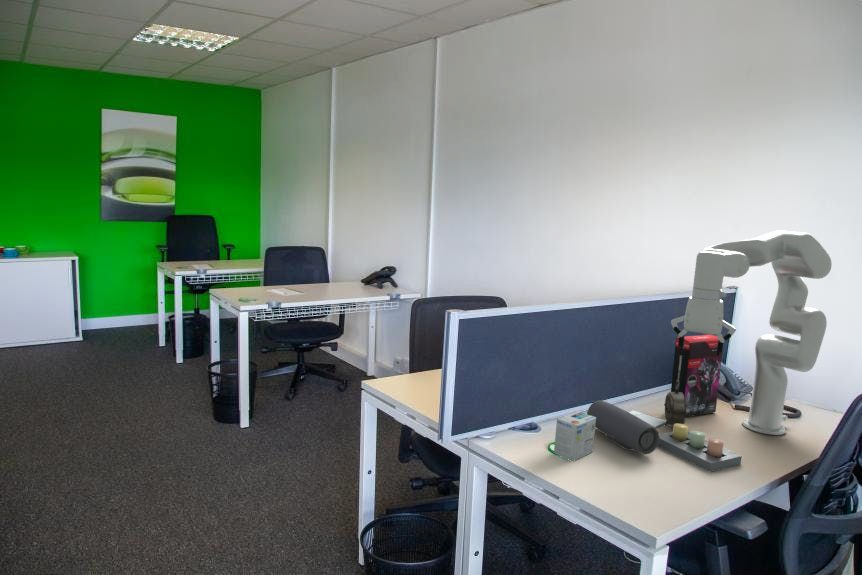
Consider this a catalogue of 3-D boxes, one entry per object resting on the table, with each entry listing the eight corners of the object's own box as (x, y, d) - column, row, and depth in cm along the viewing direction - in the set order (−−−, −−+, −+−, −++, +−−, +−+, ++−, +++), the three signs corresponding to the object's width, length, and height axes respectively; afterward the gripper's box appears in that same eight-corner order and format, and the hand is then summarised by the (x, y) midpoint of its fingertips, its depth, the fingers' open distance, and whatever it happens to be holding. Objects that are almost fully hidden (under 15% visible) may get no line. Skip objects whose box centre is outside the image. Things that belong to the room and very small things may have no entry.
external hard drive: (654, 431, 193) (620, 419, 202) (667, 425, 198) (633, 414, 208) (655, 426, 193) (621, 414, 202) (668, 421, 198) (634, 409, 207)
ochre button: (678, 435, 183) (680, 422, 183) (689, 440, 180) (691, 427, 179) (669, 436, 181) (670, 424, 181) (680, 442, 178) (681, 429, 177)
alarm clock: (684, 435, 189) (690, 386, 187) (666, 433, 190) (672, 384, 188) (677, 423, 200) (683, 376, 198) (660, 420, 201) (665, 374, 199)
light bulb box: (573, 444, 177) (576, 409, 175) (593, 452, 172) (597, 416, 170) (552, 454, 169) (556, 417, 168) (573, 462, 165) (576, 425, 163)
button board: (682, 437, 187) (683, 429, 187) (740, 464, 170) (741, 456, 170) (652, 443, 181) (653, 435, 181) (710, 471, 164) (711, 463, 164)
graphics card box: (682, 419, 204) (691, 341, 200) (665, 412, 210) (675, 336, 206) (716, 413, 212) (726, 338, 208) (699, 406, 218) (709, 333, 214)
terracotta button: (712, 450, 173) (714, 437, 172) (725, 456, 169) (726, 443, 169) (703, 452, 171) (705, 439, 170) (715, 458, 167) (717, 445, 167)
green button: (695, 442, 178) (696, 430, 177) (706, 448, 174) (708, 435, 174) (685, 444, 176) (687, 431, 176) (697, 450, 173) (699, 437, 172)
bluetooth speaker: (659, 456, 172) (663, 423, 170) (633, 460, 168) (637, 426, 167) (607, 427, 193) (610, 397, 191) (583, 429, 189) (586, 399, 187)
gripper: (739, 296, 172) (732, 354, 175) (675, 289, 179) (669, 345, 182) (740, 300, 165) (732, 359, 168) (673, 292, 173) (666, 350, 176)
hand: (699, 352), depth 175 cm, fingers open, 9 cm apart
